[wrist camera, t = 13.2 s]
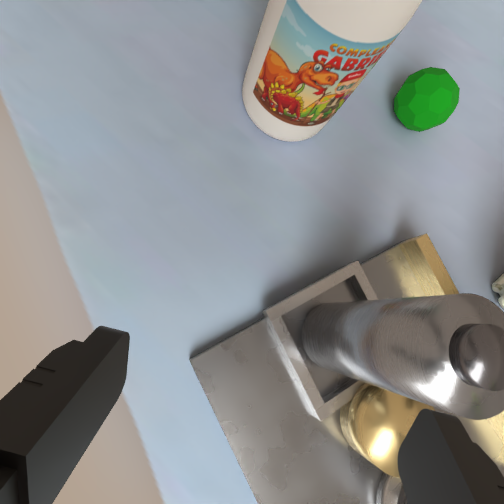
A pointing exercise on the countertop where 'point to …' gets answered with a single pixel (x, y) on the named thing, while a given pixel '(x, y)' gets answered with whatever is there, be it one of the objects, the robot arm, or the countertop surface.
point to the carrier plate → (325, 394)
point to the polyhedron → (426, 99)
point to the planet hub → (417, 348)
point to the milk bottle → (315, 59)
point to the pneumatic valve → (499, 289)
